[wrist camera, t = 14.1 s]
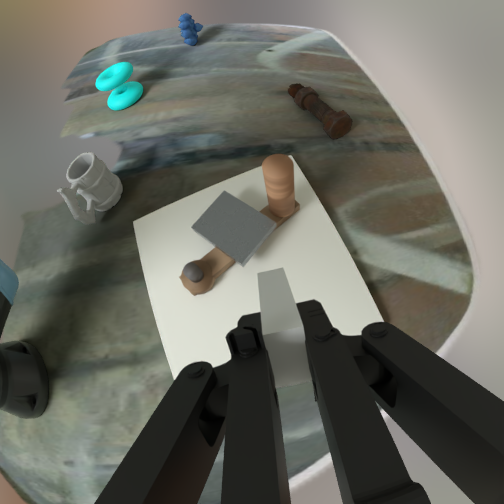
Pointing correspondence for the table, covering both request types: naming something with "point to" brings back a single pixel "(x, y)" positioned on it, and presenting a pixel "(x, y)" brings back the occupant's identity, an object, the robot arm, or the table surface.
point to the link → (278, 209)
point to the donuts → (119, 86)
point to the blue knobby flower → (189, 29)
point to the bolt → (321, 111)
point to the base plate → (245, 270)
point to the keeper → (234, 227)
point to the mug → (91, 187)
